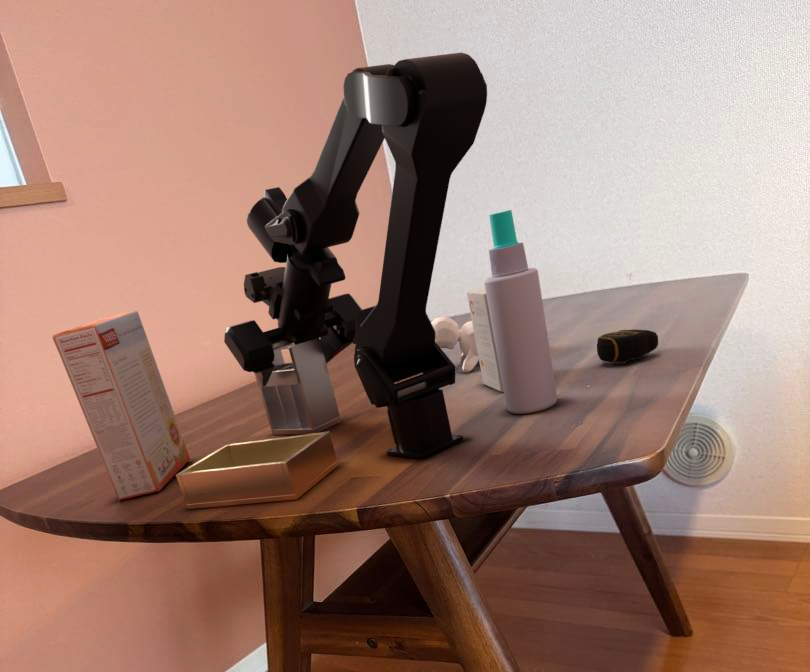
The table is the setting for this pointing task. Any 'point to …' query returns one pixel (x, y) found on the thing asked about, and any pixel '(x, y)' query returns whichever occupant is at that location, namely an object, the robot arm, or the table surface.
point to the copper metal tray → (258, 471)
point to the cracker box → (124, 402)
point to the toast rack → (300, 391)
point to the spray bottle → (518, 322)
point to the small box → (484, 338)
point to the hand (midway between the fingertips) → (291, 374)
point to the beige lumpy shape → (451, 334)
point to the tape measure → (626, 345)
